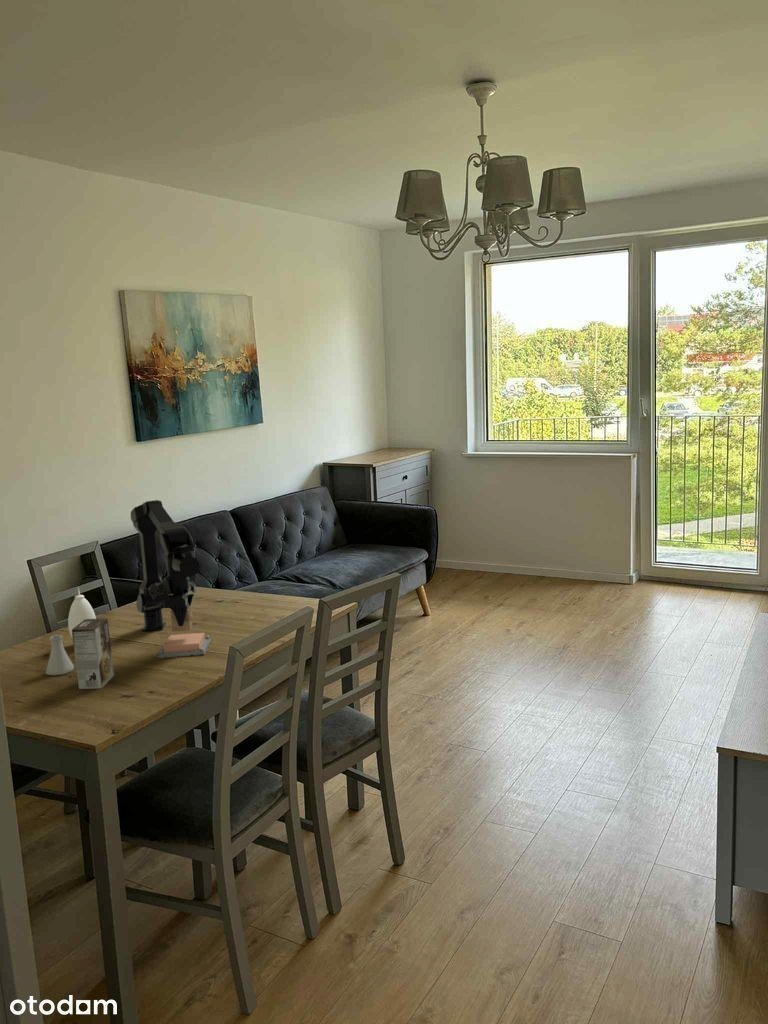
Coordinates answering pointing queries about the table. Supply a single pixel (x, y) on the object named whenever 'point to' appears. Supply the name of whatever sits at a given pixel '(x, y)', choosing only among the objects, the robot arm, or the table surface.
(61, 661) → the flask
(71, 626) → the sauce bottle
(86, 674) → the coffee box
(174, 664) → the table surface
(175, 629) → the tan wooden block
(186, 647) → the brick base
